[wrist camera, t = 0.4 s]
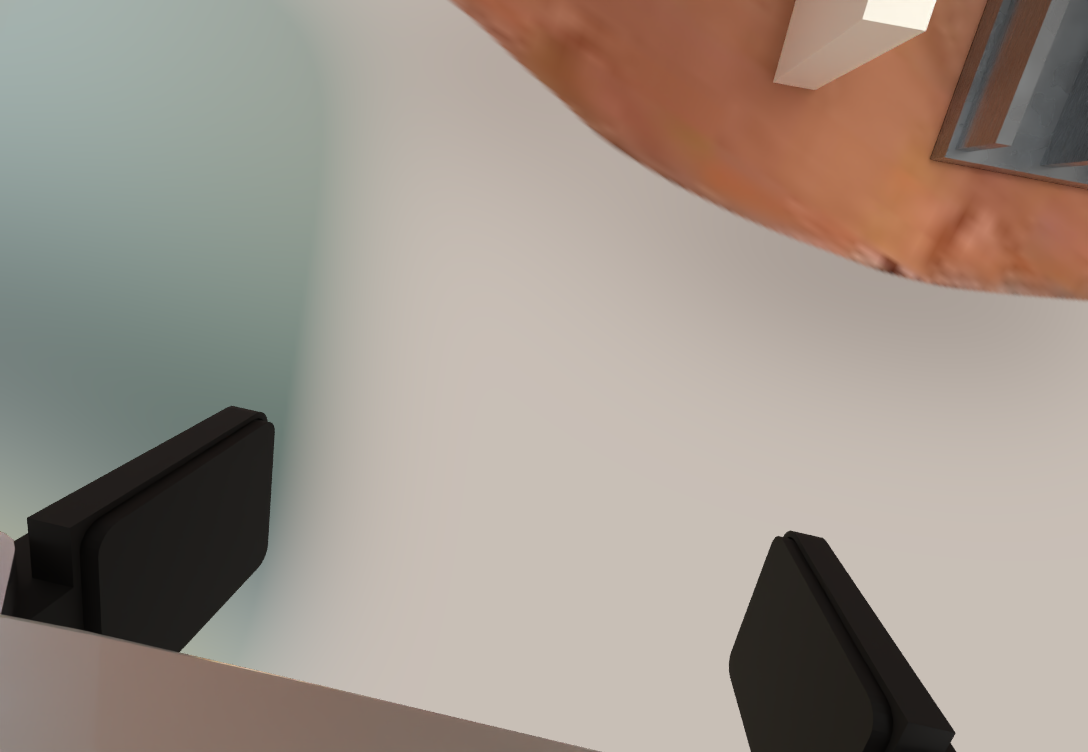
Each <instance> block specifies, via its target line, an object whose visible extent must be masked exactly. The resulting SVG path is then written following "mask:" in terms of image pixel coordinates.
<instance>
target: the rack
mask: <svg viewBox="0 0 1088 752" xmlns="http://www.w3.org/2000/svg"><path fill="white" fill-rule="evenodd" d="M930 159H931V160H936V161H942V162H947V163H952V164H958V165H963V166H968V167H973V168H979V169H984V170H989V171H994V172H1000V173H1005V174H1010V175H1015V176H1021V177H1026V178H1031V179H1036V180H1042V181H1047V182H1052V183H1057V184H1063V185H1068V186H1073V187H1079V188H1084V189H1088V0H988V2H987V5H986V8H985V10H984V13H983V16H982V19H981V21H980V24H979V27H978V30H977V32H976V35H975V38H974V41H973V43H972V46H971V49H970V51H969V54H968V57H967V60H966V62H965V65H964V68H963V71H962V73H961V76H960V79H959V82H958V84H957V87H956V90H955V93H954V95H953V98H952V101H951V104H950V106H949V109H948V112H947V115H946V117H945V120H944V123H943V125H942V128H941V131H940V134H939V136H938V139H937V142H936V145H935V147H934V150H933V153H932V156H931V158H930Z"/></svg>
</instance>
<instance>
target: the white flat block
mask: <svg viewBox="0 0 1088 752" xmlns="http://www.w3.org/2000/svg"><path fill="white" fill-rule="evenodd" d="M935 2H936V0H796V1H795V5H794V9H793V12H792V16H791V19H790V23H789V27H788V30H787V34H786V37H785V41H784V45H783V48H782V52H781V56H780V59H779V63H778V66H777V70H776V74H775V77H774V81H773V82H774V83H779V84H785V85H790V86H795V87H801V88H806V89H811V90H816V89H818V88H820V87H822V86H824V85H826V84H827V83H829V82H831V81H833V80H835V79H837V78H839V77H841V76H842V75H844V74H846V73H848V72H850V71H852V70H854V69H855V68H857V67H859V66H861V65H863V64H865V63H867V62H869V61H870V60H872V59H874V58H876V57H878V56H880V55H882V54H884V53H885V52H887V51H889V50H891V49H893V48H895V47H897V46H898V45H900V44H902V43H904V42H906V41H908V40H910V39H912V38H913V37H915V36H917V35H919V34H921V33H923V32H925V31H926V29H927V26H928V23H929V20H930V17H931V14H932V11H933V8H934V5H935Z"/></svg>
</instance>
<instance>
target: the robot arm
mask: <svg viewBox="0 0 1088 752" xmlns="http://www.w3.org/2000/svg"><path fill="white" fill-rule="evenodd" d="M274 430H275V429H274V425H273V424H272V423H271V422H267V417H266V415H265V414H264V413H262V412H257V411H253V410H248V409H244V408H239V407H235V406H230V407H227V408H225V409H224V410H222V411H220V412H218V413H216V414H215V415H213V416H211V417H209V418H207V419H205V420H204V421H202V422H200V423H198V424H196V425H195V426H193V427H191V428H189V429H188V430H186V431H184V432H182V433H180V434H179V435H177V436H175V437H173V438H171V439H169V440H167V441H166V442H164V443H162V444H160V445H159V446H157V447H155V448H153V449H151V450H149V451H147V452H146V453H144V454H142V455H140V456H139V457H137V458H135V459H133V460H131V461H129V462H127V463H126V464H124V465H122V466H120V467H118V468H117V469H115V470H113V471H111V472H109V473H108V474H106V475H104V476H102V477H100V478H98V479H97V480H95V481H93V482H91V483H90V484H88V485H86V486H84V487H82V488H80V489H79V490H77V491H75V492H73V493H71V494H69V495H68V496H66V497H64V498H62V499H60V500H59V501H57V502H55V503H53V504H51V505H49V506H48V507H46V508H44V509H42V510H40V511H39V512H37V513H35V514H33V515H31V516H30V517H28V518H27V524H28V533H27V534H26V535H24V536H22V537H21V538H19V539H17V540H15V541H14V540H13V539H12V538H11V537H9V536H8V535H7V534H6V533H4V532H1V531H0V752H600V751H596V750H591V749H587V748H583V747H578V746H574V745H570V744H566V743H562V742H557V741H553V740H549V739H545V738H541V737H536V736H532V735H528V734H524V733H519V732H515V731H511V730H506V729H502V728H498V727H494V726H490V725H485V724H481V723H476V722H473V721H468V720H464V719H459V718H456V717H451V716H447V715H443V714H439V713H435V712H430V711H426V710H422V709H418V708H414V707H409V706H405V705H401V704H396V703H392V702H388V701H384V700H380V699H376V698H371V697H367V696H363V695H359V694H355V693H350V692H346V691H342V690H338V689H333V688H329V687H325V686H321V685H317V684H312V683H308V682H304V681H300V680H296V679H291V678H287V677H283V676H279V675H274V674H270V673H266V672H262V671H257V670H253V669H248V668H244V667H240V666H236V665H231V664H227V663H222V662H218V661H214V660H210V659H205V658H201V657H197V656H192V655H188V654H183V653H179V652H180V651H181V650H182V649H183V648H184V647H185V646H186V645H187V644H188V642H189V641H190V640H191V639H192V638H193V637H194V636H195V635H196V634H197V633H198V632H199V631H200V630H201V629H202V627H203V626H204V625H205V624H206V623H207V622H208V621H209V620H210V619H211V618H212V617H213V616H214V615H215V613H216V612H217V611H218V610H219V609H220V608H221V607H222V606H223V605H224V604H225V603H226V602H227V601H228V600H229V598H230V597H231V596H232V595H233V594H234V593H235V592H236V591H237V590H238V589H239V588H240V587H241V586H242V584H243V583H244V582H245V581H246V580H247V579H248V578H249V577H250V576H251V575H252V574H253V572H254V571H256V569H257V568H258V567H259V566H260V565H261V563H262V561H263V560H264V557H265V555H266V552H267V547H268V533H269V517H270V501H271V484H272V468H273V450H274V435H275V434H274V433H275V431H274ZM729 673H730V678H731V682H732V685H733V689H734V693H735V696H736V699H737V703H738V707H739V710H740V714H741V718H742V721H743V725H744V728H745V732H746V736H747V739H748V743H749V746H750V750H751V752H956V751H955V749H954V748H953V746H952V745H951V743H950V742H951V740H952V739H953V737H954V735H955V731H954V730H953V728H952V727H951V726H950V724H949V723H948V721H947V720H946V718H945V717H944V715H943V714H942V712H941V711H940V709H939V708H938V707H937V705H936V703H935V702H934V700H933V699H932V697H931V696H930V694H929V693H928V691H927V690H926V688H925V687H924V686H923V684H922V683H921V681H920V680H919V678H918V677H917V675H916V674H915V672H914V671H913V669H912V668H911V666H910V665H909V663H908V662H907V660H906V659H905V657H904V656H903V655H902V653H901V651H900V650H899V649H898V647H897V646H896V644H895V643H894V641H893V640H892V638H891V637H890V635H889V634H888V632H887V631H886V629H885V628H884V627H883V625H882V623H881V622H880V620H879V619H878V617H877V616H876V614H875V613H874V612H873V610H872V608H871V607H870V605H869V604H868V603H867V601H866V600H865V598H864V597H863V595H862V594H861V592H860V591H859V589H858V588H857V586H856V585H855V583H854V582H853V580H852V579H851V577H850V576H849V574H848V573H847V572H846V570H845V568H844V567H843V565H842V564H841V563H840V561H839V560H838V558H837V557H836V555H835V554H834V552H833V551H832V549H831V548H830V546H829V545H828V543H827V542H826V541H825V540H824V539H823V538H820V537H816V536H812V535H807V534H803V533H798V532H793V531H788V532H787V533H786V534H785V535H784V537H780V536H777V537H775V539H774V540H773V542H772V544H771V547H770V549H769V552H768V555H767V557H766V560H765V563H764V565H763V568H762V571H761V573H760V576H759V579H758V582H757V584H756V587H755V589H754V592H753V595H752V598H751V600H750V603H749V606H748V608H747V612H746V614H745V616H744V619H743V622H742V624H741V627H740V630H739V632H738V635H737V638H736V641H735V644H734V646H733V649H732V651H731V655H730V660H729Z"/></svg>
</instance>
